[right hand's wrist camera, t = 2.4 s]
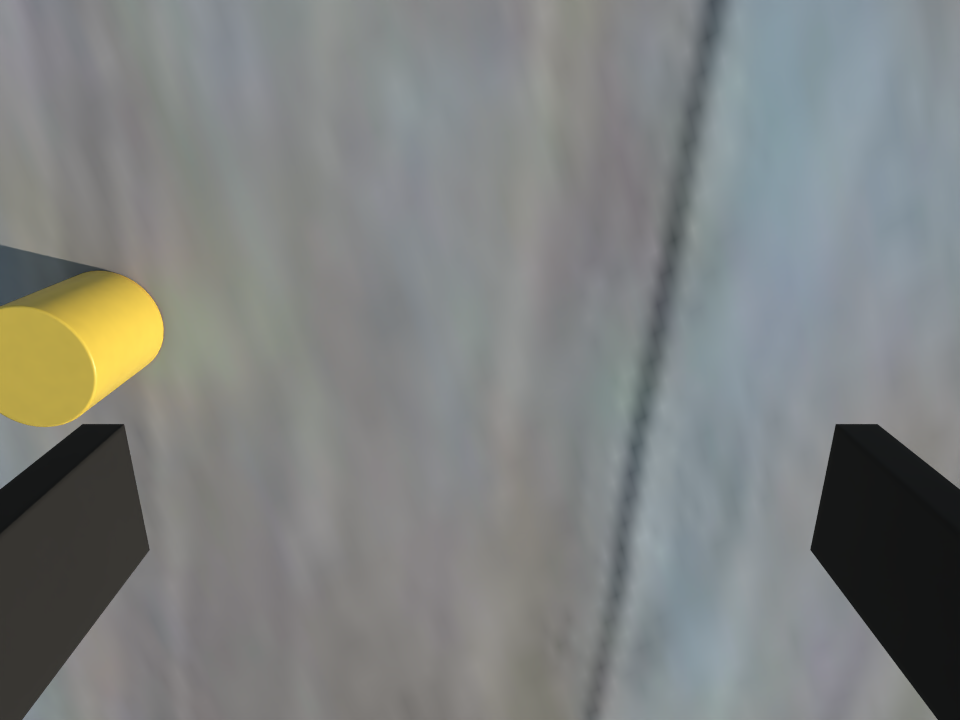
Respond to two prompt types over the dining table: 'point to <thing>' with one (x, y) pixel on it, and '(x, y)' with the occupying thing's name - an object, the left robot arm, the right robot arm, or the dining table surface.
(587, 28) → the dining table surface
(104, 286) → the canister
